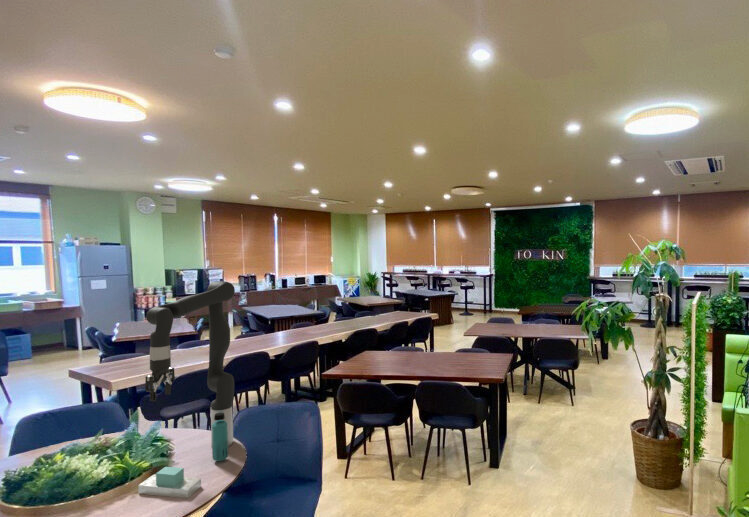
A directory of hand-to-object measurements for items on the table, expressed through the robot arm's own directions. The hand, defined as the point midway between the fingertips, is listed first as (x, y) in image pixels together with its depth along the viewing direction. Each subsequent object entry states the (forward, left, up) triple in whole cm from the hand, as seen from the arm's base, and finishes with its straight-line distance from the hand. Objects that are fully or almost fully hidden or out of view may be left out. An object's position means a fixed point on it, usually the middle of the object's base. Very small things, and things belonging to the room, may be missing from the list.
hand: (160, 397), depth 169 cm
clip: (+11, +12, -30) cm, 34 cm away
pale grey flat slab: (+11, +12, -30) cm, 34 cm away
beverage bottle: (-13, +18, -30) cm, 38 cm away
